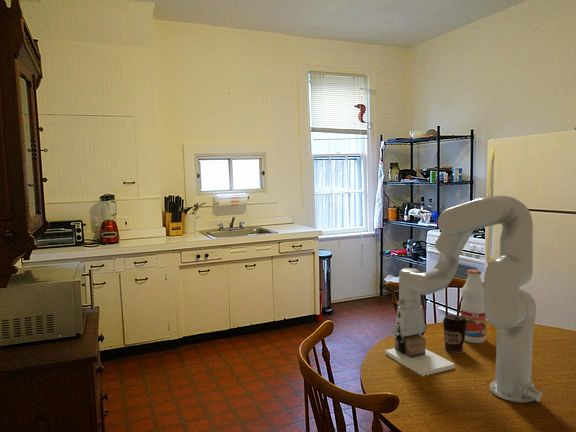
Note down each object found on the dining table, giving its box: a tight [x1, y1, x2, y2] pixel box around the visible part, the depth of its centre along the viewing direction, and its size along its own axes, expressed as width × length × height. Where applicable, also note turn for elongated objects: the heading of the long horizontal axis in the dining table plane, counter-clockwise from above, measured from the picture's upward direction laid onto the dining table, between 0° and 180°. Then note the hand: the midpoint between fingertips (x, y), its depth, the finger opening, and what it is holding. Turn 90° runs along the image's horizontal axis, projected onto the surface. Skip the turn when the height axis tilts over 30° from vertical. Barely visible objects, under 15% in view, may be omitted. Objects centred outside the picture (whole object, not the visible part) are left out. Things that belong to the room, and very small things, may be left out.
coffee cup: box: [442, 314, 467, 354], centre depth 161 cm, size 9×8×13 cm
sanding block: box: [394, 333, 427, 358], centre depth 157 cm, size 9×6×6 cm
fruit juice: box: [460, 268, 487, 344], centre depth 171 cm, size 9×9×28 cm
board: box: [384, 347, 456, 377], centre depth 153 cm, size 20×14×2 cm
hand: (409, 349), depth 157 cm, fingers closed on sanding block, 6 cm apart
